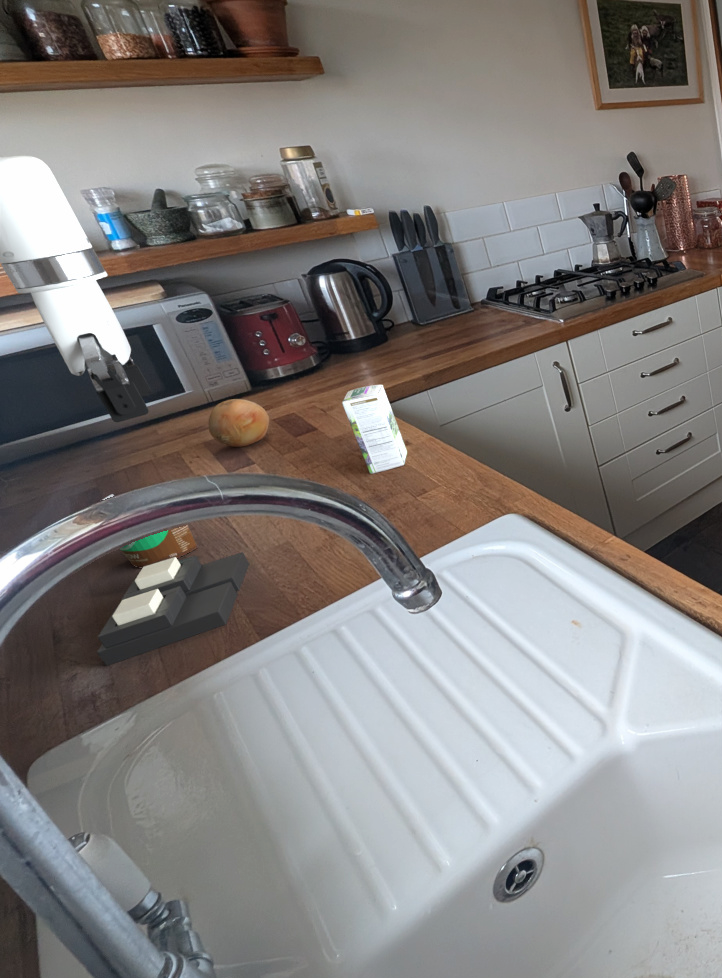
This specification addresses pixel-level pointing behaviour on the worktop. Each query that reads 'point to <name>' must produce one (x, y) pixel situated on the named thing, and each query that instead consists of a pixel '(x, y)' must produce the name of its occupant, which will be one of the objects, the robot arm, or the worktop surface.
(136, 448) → the worktop surface
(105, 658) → the key block
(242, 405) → the onion
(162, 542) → the food container
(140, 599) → the key front
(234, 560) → the key block
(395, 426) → the syrup box
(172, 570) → the key rear
